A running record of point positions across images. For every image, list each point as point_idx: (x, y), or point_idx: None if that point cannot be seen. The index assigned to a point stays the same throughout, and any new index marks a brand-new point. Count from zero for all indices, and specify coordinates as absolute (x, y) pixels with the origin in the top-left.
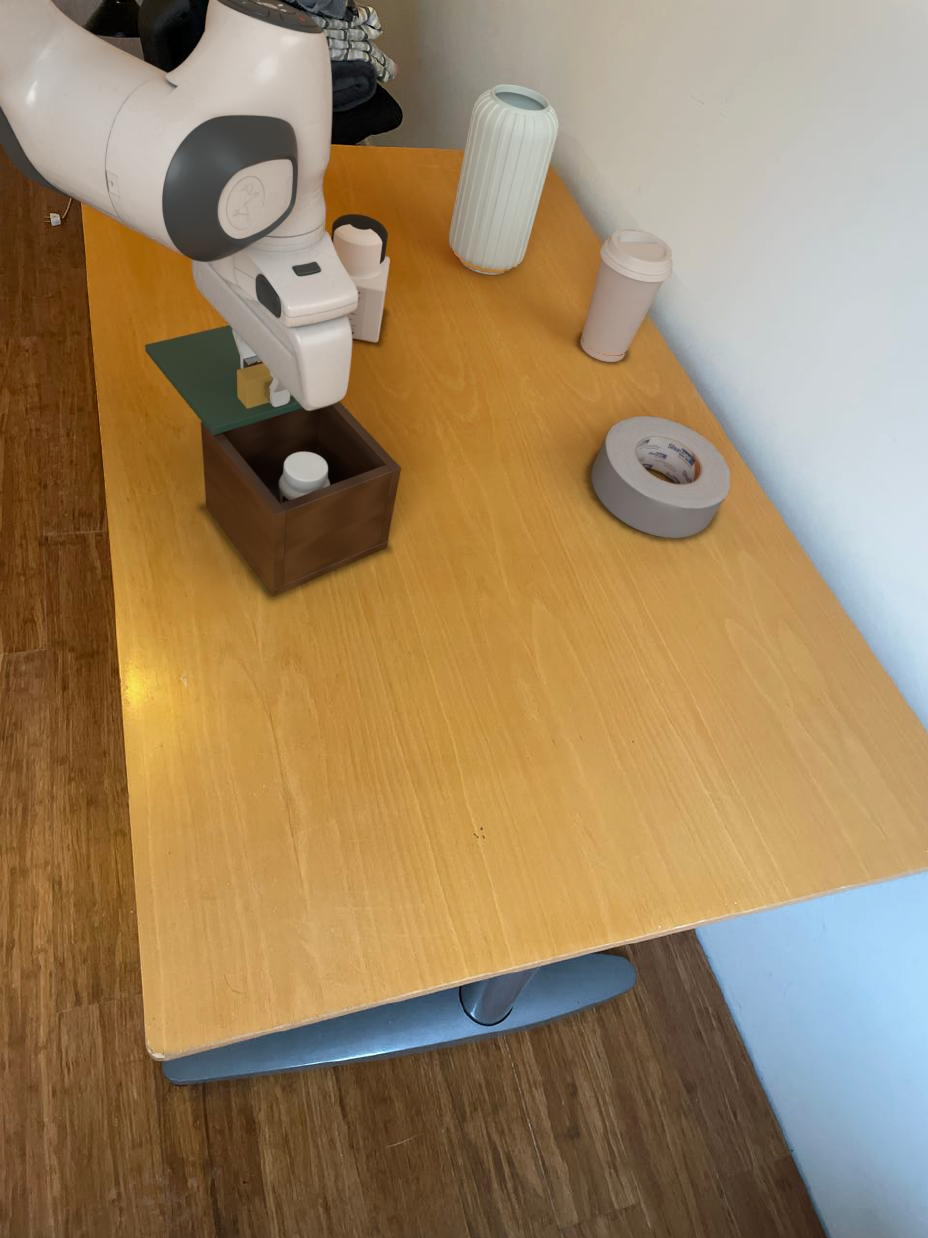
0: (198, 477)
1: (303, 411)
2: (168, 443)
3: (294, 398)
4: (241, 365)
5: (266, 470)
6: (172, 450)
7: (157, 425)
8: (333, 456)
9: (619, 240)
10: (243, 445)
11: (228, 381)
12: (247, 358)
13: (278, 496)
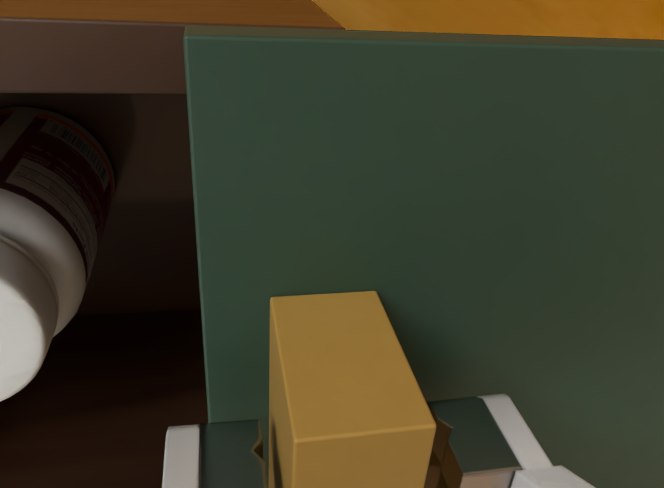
0: (396, 18)
1: None
2: (557, 13)
3: None
4: (511, 416)
5: None
6: (528, 8)
7: (630, 24)
8: (161, 390)
9: None
10: None
11: (498, 299)
12: (506, 485)
13: (34, 165)
